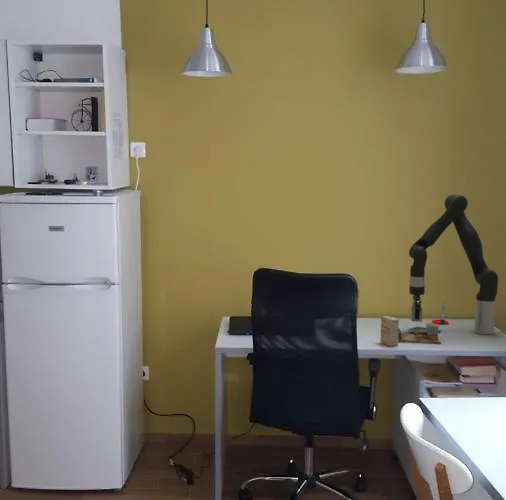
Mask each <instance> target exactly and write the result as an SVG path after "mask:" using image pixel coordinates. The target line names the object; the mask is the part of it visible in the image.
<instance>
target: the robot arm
mask: <svg viewBox="0 0 506 500" xmlns="http://www.w3.org/2000/svg"><path fill="white" fill-rule="evenodd" d="M468 204H469V203H468V199H467V198H466V197H465V196H464V195H461V194H450V195H448V196H446V198H445V200H444V207H445V211H444V213H443V214H442V215H440V217H439V218H438V219H437V220H436V221H434V222H433V223H432V224H431V225H430V226H429V227H428V228H427V229H426V230H425V232H424V233H423V234H422V235H421V237H420V238H419V239H417V240H416V241H415V242H414V243H413V244H412V245H411V247H409V250H408V255H409V257H411V259H412V260H413V262H412V265H410V270H409V271H410V272H409V273H410V275H409V277H410V278H409V288H408V289H409V290H408V291H409V293H408V294H410V295H412V306H414V307H415V319H419V313H420V311H421V310H420V309H421V307H422V298H421V296H424V295H425V289H426V288H425V287H426V279H425V272H426V269H425V268H426V265H427V259H428V252H427V249H428V248H429V247H433V246H434V244H435V243H436V242H437V241H438V240H439V238H440V237H441V235H442V234H443V233H444V232H445V231H446V230H447V228H448V227H449V226H450V225H451V224H452V223H453V225H454V229H455V231H456V233H457V236H458V238H459V241H460V244H461V245H462V249H463V250H464V252H465V255H466V257H467V259H468V261H469V263H470V267H471V270H472V273H473V277H474V280H475V282H476V283H477V284H478V285H479V291H478V292H477V293H476V295H475V313H474V327H473V329H474V330H473V332H474V333H476V334H479V335H480V334H481V335H494V334H495V326H496V325H495V322H496V315H495V306H496V305H495V303H496V297H497V295H498V289H499V288H498V287H499V286H498V285H499V276H498V273H496V272H495V271H494V270H493V269H489V266H487V263H486V261H485V258H484V255H483V254H484V253H483V251H484V250H483V244H482V241H481V238H480V235H479V232H477V230H476V229H475V227H474V226H473V224H472V223H471V222H470V221H469V219H468V218H467V215H466V213H465V211H466V209H467V207H468ZM417 307H418V308H419V309H417Z"/></svg>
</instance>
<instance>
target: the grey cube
mask: <svg viewBox="0 0 506 500" xmlns="http://www.w3.org/2000/svg"><path fill="white" fill-rule="evenodd" d="M425 332H426V336H438V337H439V324H436V323H433V322H431V323H430V322H426V323H425Z"/></svg>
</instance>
